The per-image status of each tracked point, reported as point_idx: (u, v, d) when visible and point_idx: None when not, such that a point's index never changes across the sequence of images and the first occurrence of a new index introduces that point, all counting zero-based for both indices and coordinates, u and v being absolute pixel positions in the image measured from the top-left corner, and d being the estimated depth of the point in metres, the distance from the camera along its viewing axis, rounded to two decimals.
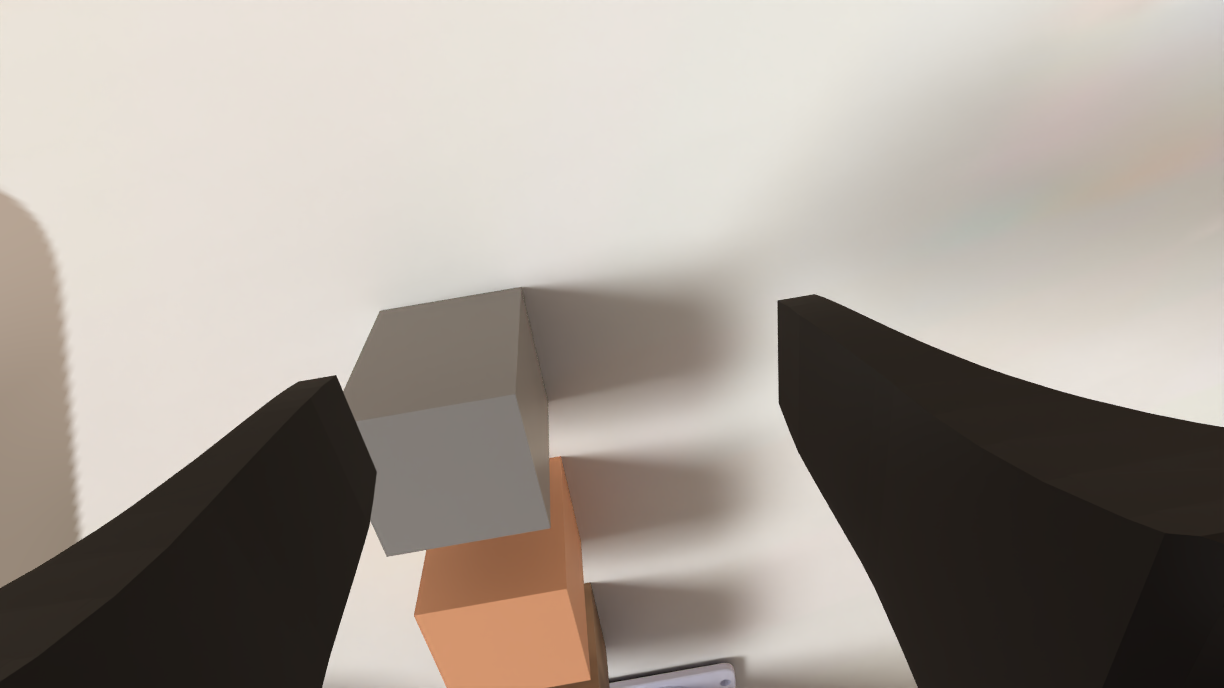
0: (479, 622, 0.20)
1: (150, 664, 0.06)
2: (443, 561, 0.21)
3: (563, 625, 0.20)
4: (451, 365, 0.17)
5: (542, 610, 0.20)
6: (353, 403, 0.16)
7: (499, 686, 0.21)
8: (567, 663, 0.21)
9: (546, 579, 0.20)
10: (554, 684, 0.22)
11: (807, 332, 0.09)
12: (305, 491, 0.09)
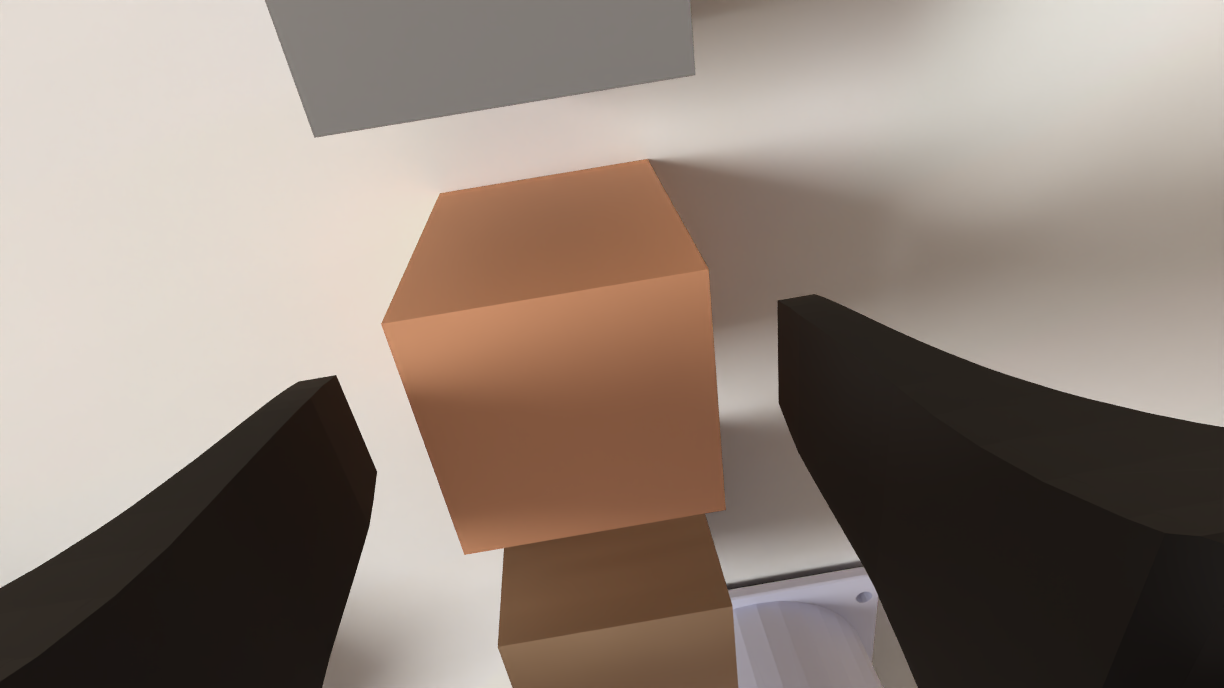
0: (520, 350, 0.09)
1: (150, 663, 0.06)
2: (443, 263, 0.11)
3: (690, 370, 0.10)
4: None
5: (651, 325, 0.09)
6: None
7: (551, 517, 0.11)
8: (686, 467, 0.11)
9: (661, 262, 0.09)
10: (655, 519, 0.11)
11: (807, 332, 0.09)
12: (306, 490, 0.09)
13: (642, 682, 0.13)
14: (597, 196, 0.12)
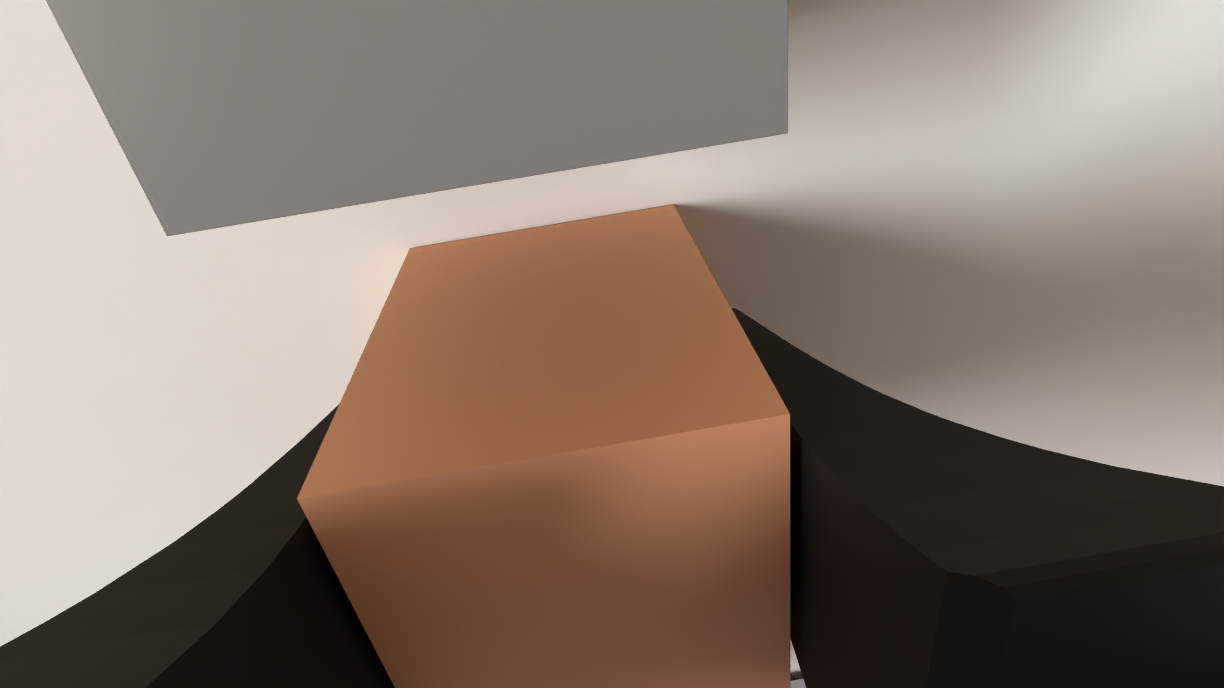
0: (507, 526, 0.06)
1: (295, 638, 0.06)
2: (402, 375, 0.08)
3: (754, 543, 0.07)
4: None
5: (700, 488, 0.06)
6: None
7: None
8: (740, 655, 0.08)
9: (714, 395, 0.06)
10: None
11: None
12: None
13: None
14: (612, 263, 0.09)
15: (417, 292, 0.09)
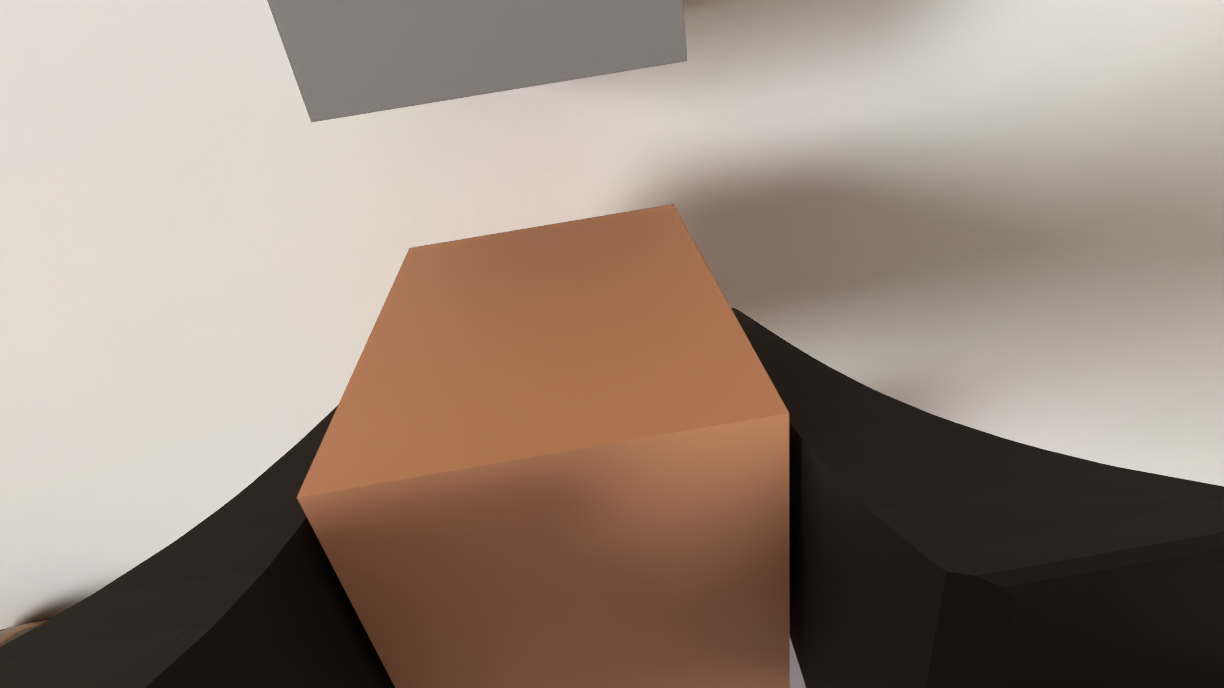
0: (506, 525, 0.06)
1: (293, 638, 0.06)
2: (402, 374, 0.08)
3: (753, 542, 0.07)
4: None
5: (700, 487, 0.06)
6: None
7: None
8: (740, 654, 0.08)
9: (713, 394, 0.06)
10: None
11: None
12: None
13: None
14: (612, 263, 0.09)
15: (417, 291, 0.09)
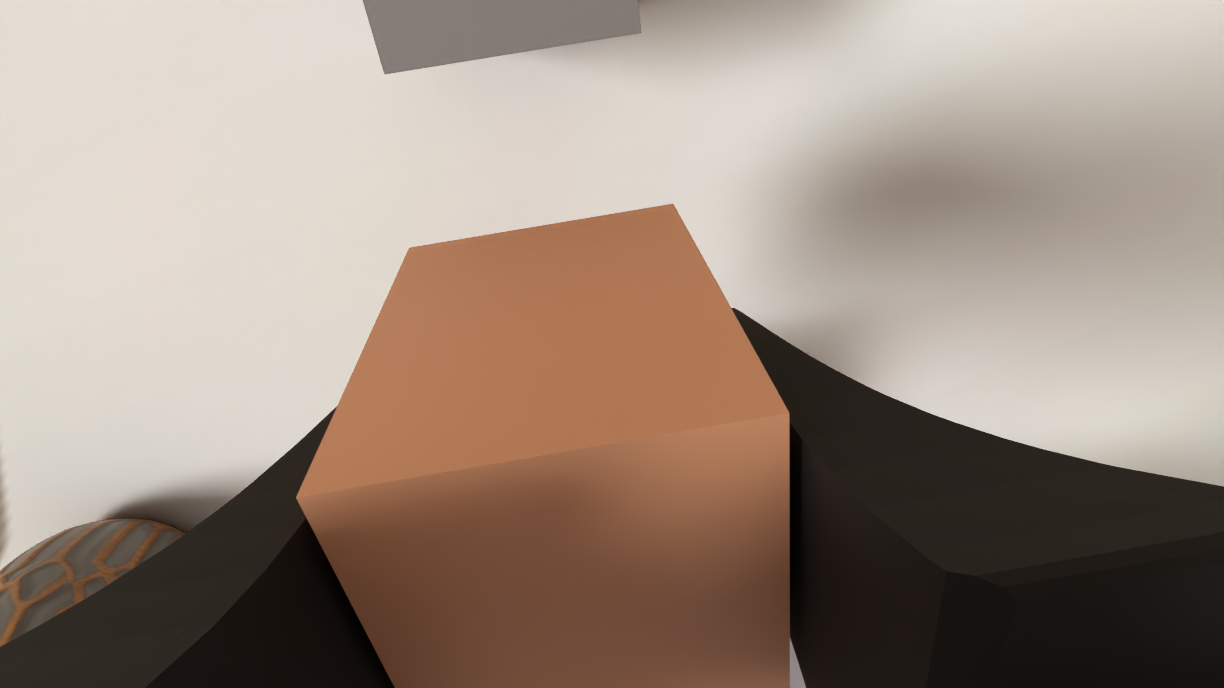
0: (506, 524, 0.06)
1: (295, 638, 0.06)
2: (401, 374, 0.08)
3: (753, 542, 0.07)
4: None
5: (700, 488, 0.06)
6: None
7: None
8: (740, 655, 0.08)
9: (713, 394, 0.06)
10: None
11: None
12: None
13: None
14: (612, 263, 0.09)
15: (417, 291, 0.09)
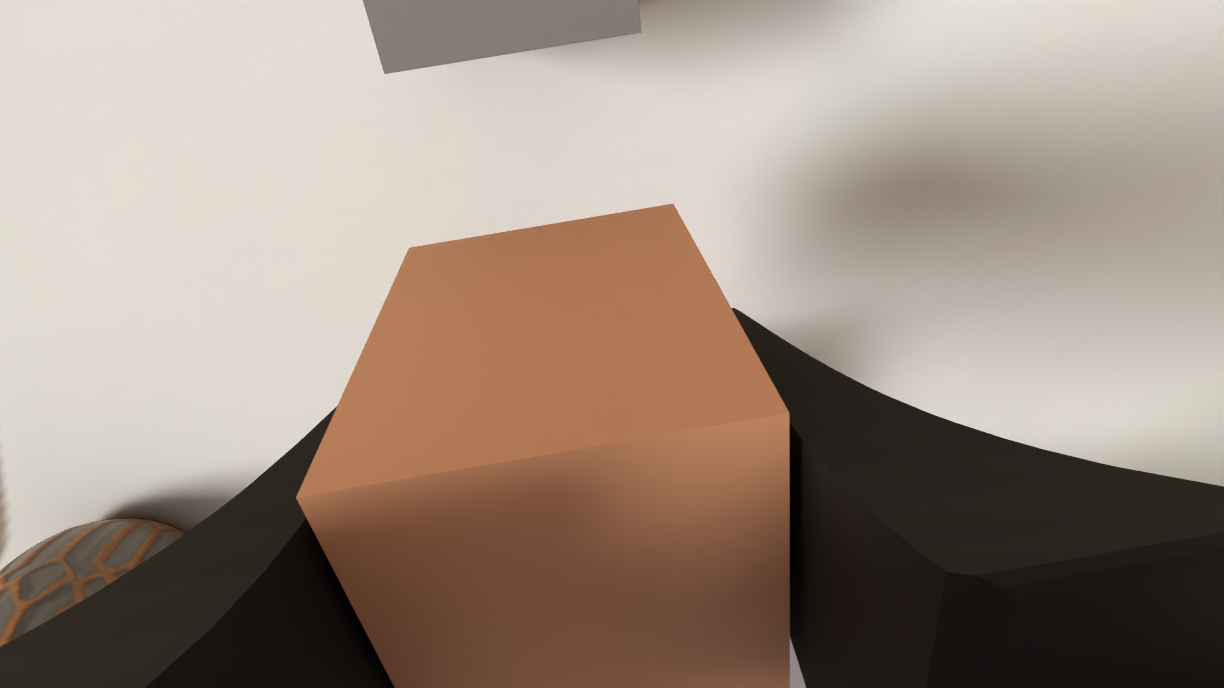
0: (506, 524, 0.06)
1: (295, 638, 0.06)
2: (401, 374, 0.08)
3: (753, 542, 0.07)
4: None
5: (700, 488, 0.06)
6: None
7: None
8: (740, 655, 0.08)
9: (713, 394, 0.06)
10: None
11: None
12: None
13: None
14: (612, 263, 0.09)
15: (417, 291, 0.09)
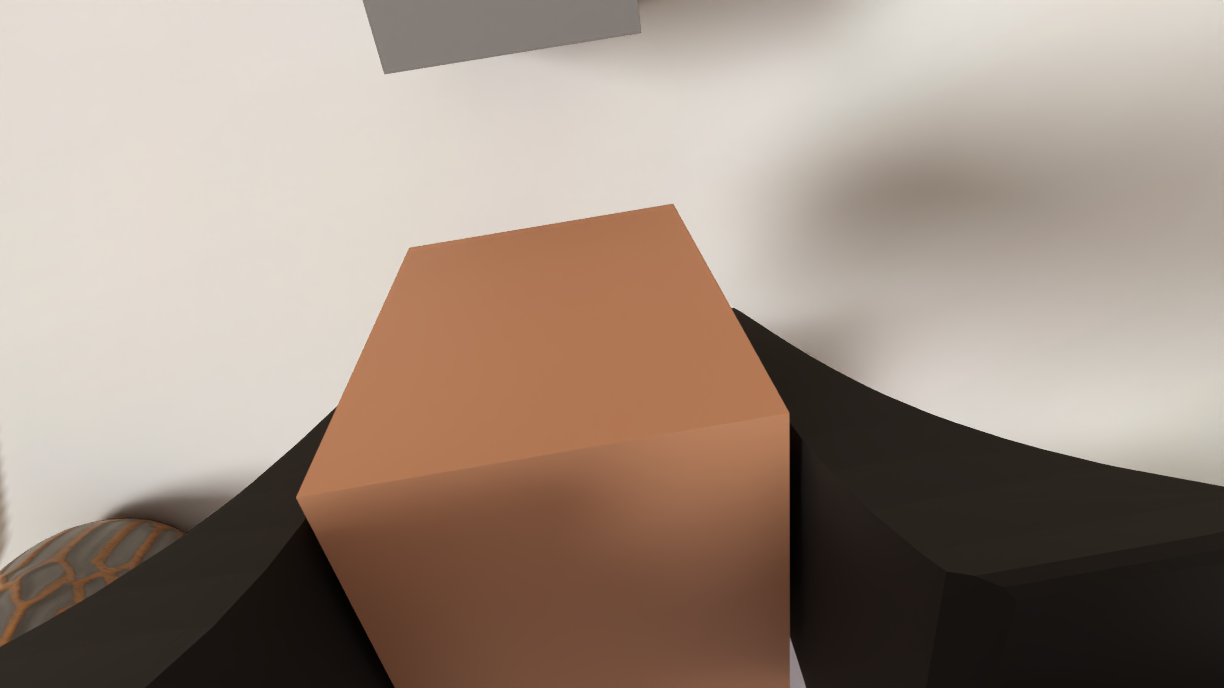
0: (506, 524, 0.06)
1: (295, 638, 0.06)
2: (401, 374, 0.08)
3: (753, 542, 0.07)
4: None
5: (700, 488, 0.06)
6: None
7: None
8: (740, 655, 0.08)
9: (713, 394, 0.06)
10: None
11: None
12: None
13: None
14: (612, 263, 0.09)
15: (417, 291, 0.09)
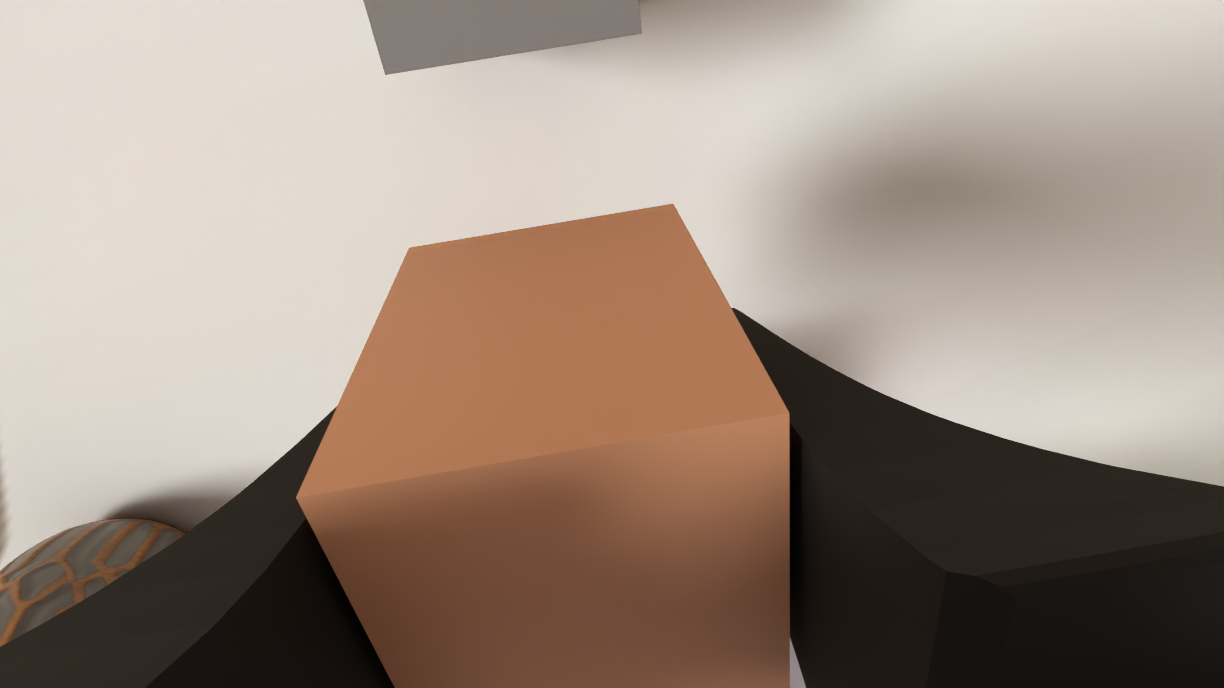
0: (506, 524, 0.06)
1: (295, 638, 0.06)
2: (401, 374, 0.08)
3: (753, 542, 0.07)
4: None
5: (700, 488, 0.06)
6: None
7: None
8: (740, 655, 0.08)
9: (713, 394, 0.06)
10: None
11: None
12: None
13: None
14: (612, 263, 0.09)
15: (417, 291, 0.09)
